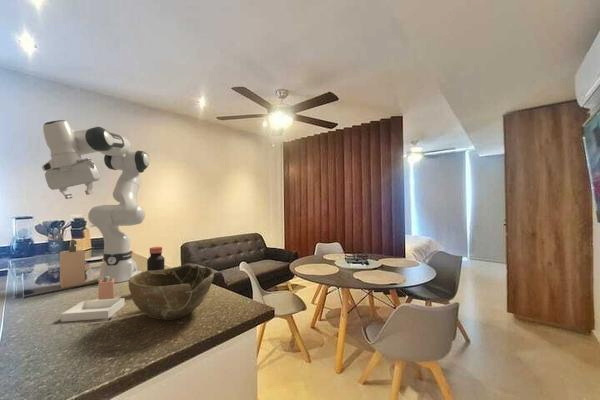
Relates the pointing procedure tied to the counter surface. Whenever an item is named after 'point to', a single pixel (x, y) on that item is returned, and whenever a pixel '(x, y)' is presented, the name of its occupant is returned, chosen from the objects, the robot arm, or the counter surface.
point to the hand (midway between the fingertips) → (79, 196)
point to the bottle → (155, 259)
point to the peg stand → (106, 279)
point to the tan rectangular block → (72, 266)
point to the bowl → (170, 290)
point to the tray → (93, 310)
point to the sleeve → (106, 289)
